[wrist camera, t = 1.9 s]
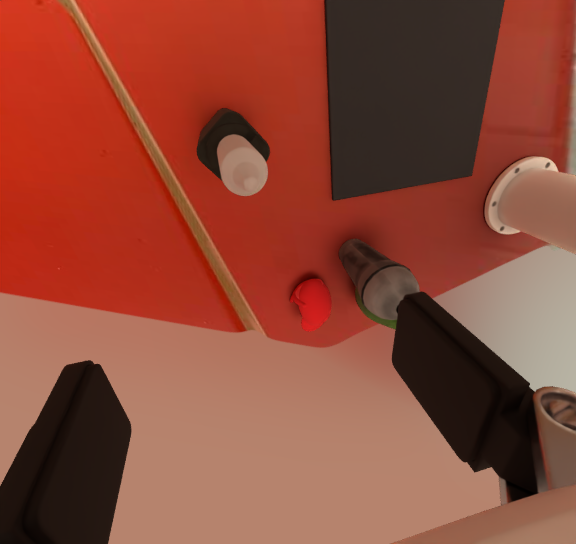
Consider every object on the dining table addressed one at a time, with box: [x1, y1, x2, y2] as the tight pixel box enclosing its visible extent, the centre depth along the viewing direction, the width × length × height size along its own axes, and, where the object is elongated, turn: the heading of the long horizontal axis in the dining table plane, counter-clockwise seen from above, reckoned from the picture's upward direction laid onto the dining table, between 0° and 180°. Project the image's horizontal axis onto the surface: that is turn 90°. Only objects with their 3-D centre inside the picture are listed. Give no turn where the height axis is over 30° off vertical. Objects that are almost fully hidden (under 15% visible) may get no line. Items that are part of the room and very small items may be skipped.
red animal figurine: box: [290, 279, 332, 331], centre depth 49 cm, size 8×6×6 cm
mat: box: [325, 0, 505, 201], centre depth 40 cm, size 22×22×1 cm
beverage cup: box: [339, 239, 420, 320], centre depth 41 cm, size 7×7×20 cm
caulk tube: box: [197, 108, 270, 196], centre depth 27 cm, size 5×5×25 cm
